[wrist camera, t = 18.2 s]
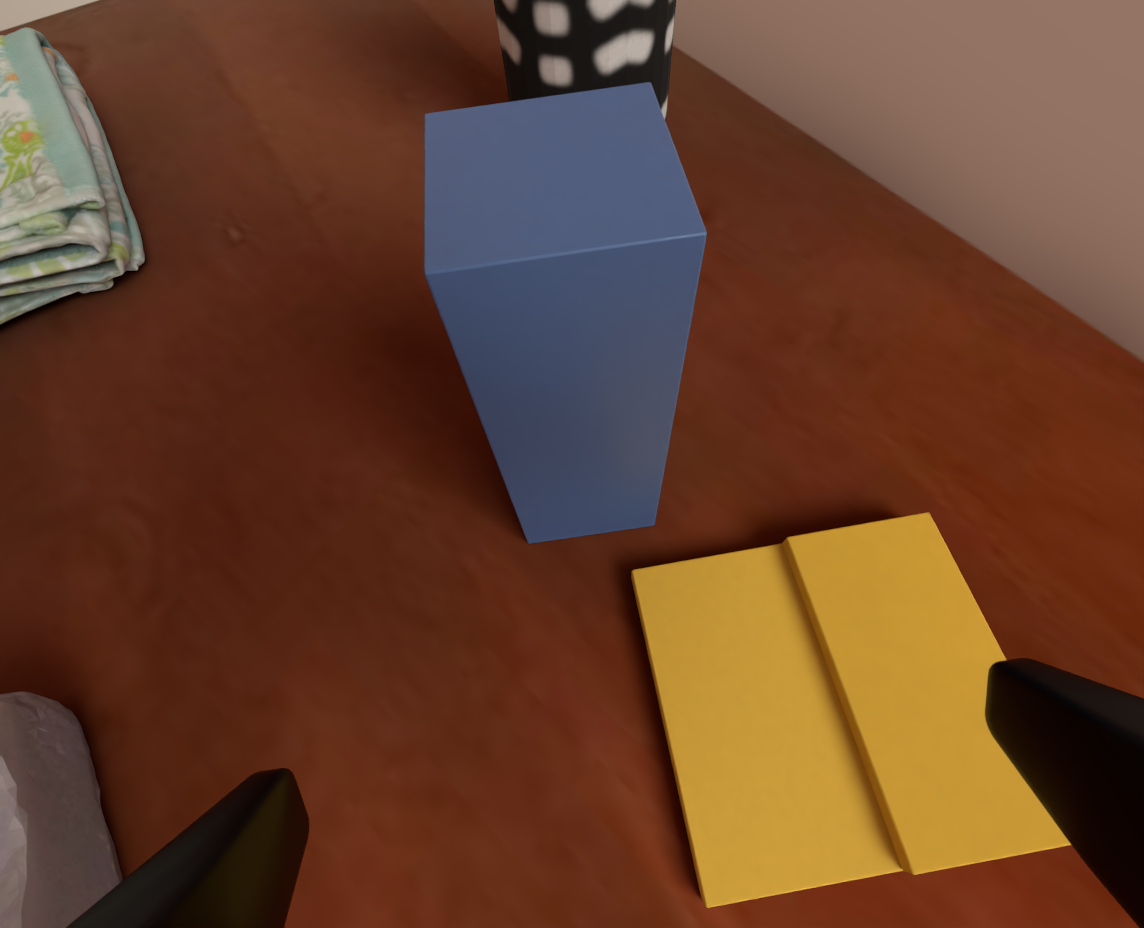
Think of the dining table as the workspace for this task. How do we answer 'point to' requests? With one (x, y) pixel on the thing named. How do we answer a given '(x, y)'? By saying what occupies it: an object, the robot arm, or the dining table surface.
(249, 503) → the dining table surface
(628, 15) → the spotted tube
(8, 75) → the towel
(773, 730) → the cloth
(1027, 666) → the robot arm
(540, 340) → the block
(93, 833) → the stone block
